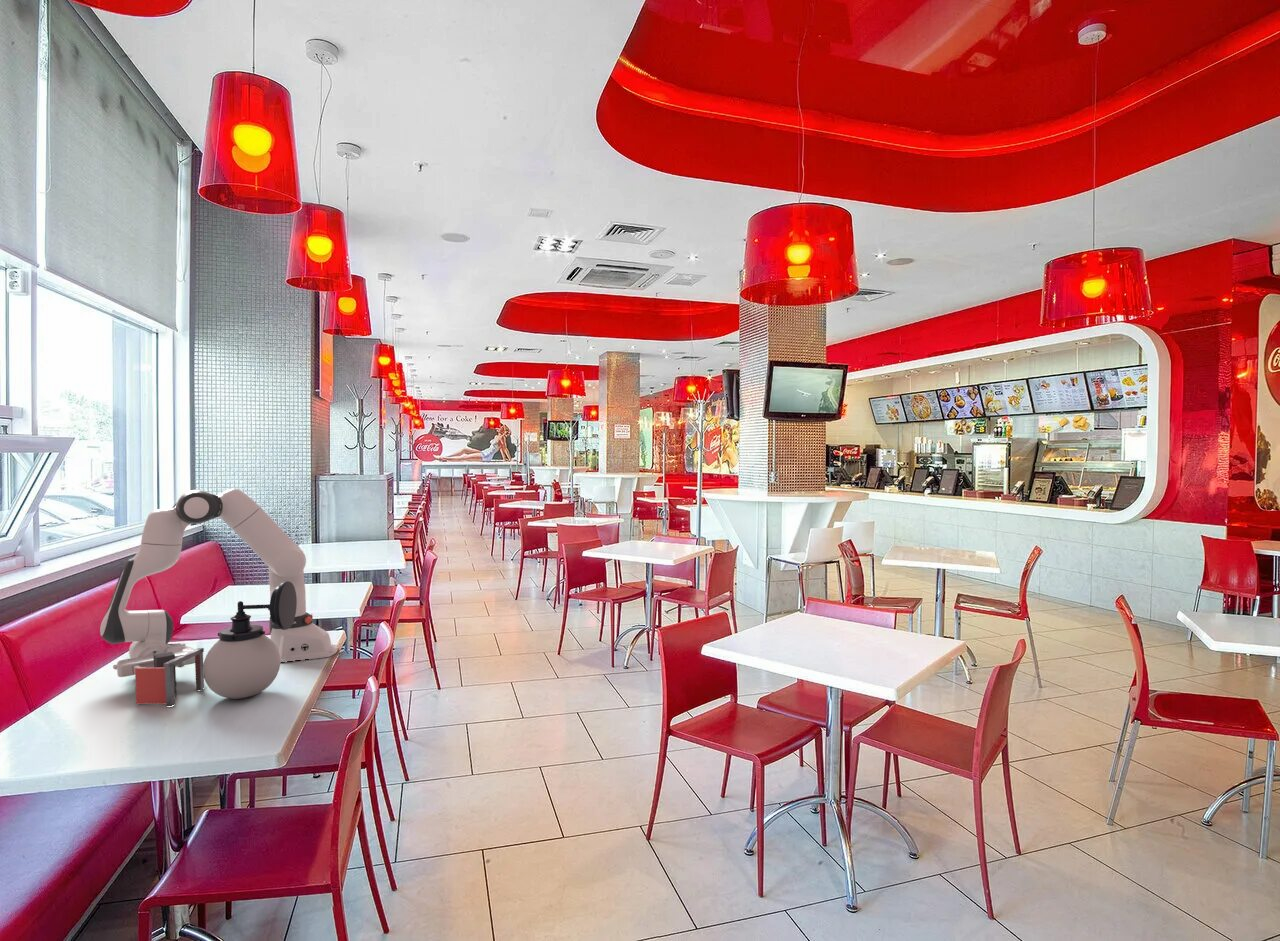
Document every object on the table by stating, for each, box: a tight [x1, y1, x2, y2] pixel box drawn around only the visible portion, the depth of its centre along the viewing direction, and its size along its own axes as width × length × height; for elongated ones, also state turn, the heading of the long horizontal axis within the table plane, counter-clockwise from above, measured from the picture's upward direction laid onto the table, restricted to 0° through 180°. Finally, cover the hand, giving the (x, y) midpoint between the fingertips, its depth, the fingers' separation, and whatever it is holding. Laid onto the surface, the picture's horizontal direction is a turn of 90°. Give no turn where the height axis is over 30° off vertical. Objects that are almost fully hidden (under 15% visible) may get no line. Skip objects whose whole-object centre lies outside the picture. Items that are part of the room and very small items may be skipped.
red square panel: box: [134, 667, 166, 705], centre depth 204 cm, size 10×1×10 cm, turn 89°
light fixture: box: [203, 581, 297, 700], centre depth 210 cm, size 20×23×33 cm
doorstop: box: [153, 652, 177, 695], centre depth 212 cm, size 4×4×12 cm
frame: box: [164, 647, 205, 707], centre depth 209 cm, size 16×2×12 cm, turn 179°
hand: (162, 667), depth 214 cm, fingers open, 8 cm apart
